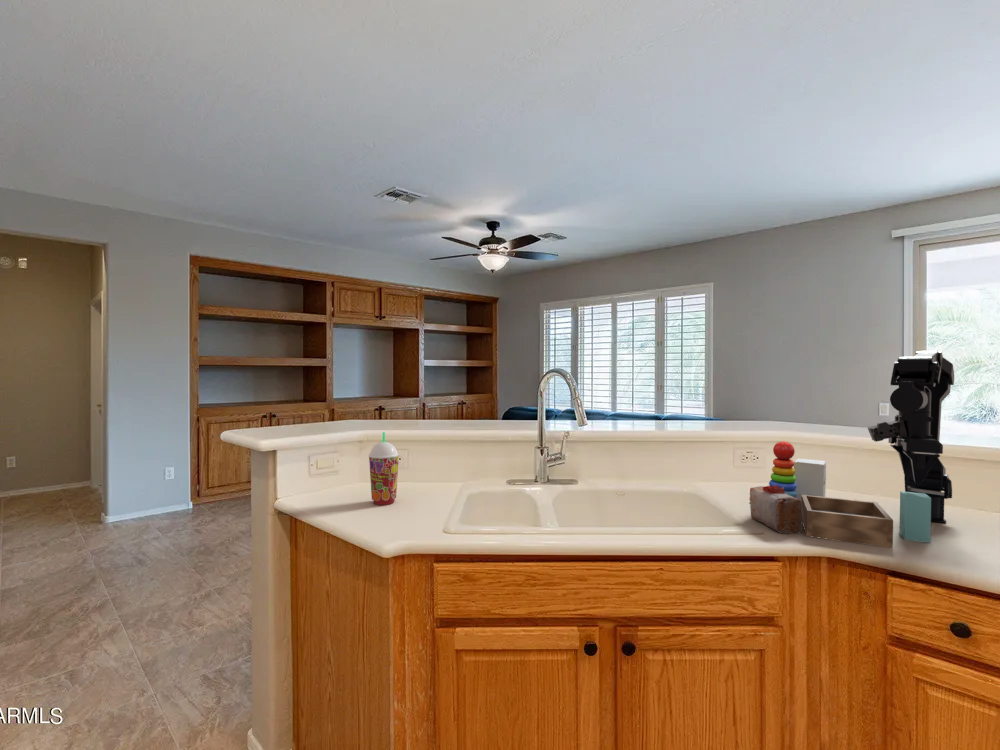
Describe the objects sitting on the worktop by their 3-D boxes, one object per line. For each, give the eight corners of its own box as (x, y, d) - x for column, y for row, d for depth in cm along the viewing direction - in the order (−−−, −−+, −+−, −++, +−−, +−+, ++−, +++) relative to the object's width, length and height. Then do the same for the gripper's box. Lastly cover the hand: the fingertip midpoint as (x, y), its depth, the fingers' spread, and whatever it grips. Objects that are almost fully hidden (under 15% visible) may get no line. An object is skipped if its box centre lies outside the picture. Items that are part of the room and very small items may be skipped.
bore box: (876, 526, 126) (877, 502, 125) (892, 547, 111) (893, 520, 111) (801, 517, 133) (801, 494, 133) (806, 536, 118) (807, 510, 118)
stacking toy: (759, 507, 142) (760, 440, 141) (779, 504, 145) (780, 438, 145) (785, 515, 135) (786, 444, 134) (805, 512, 138) (807, 442, 137)
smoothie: (362, 504, 143) (362, 433, 143) (380, 497, 151) (380, 429, 151) (387, 508, 140) (387, 435, 140) (404, 500, 148) (404, 431, 148)
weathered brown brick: (744, 517, 134) (744, 479, 133) (774, 516, 134) (774, 478, 134) (775, 534, 120) (776, 492, 120) (808, 534, 120) (809, 492, 120)
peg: (924, 536, 119) (925, 493, 118) (930, 542, 114) (931, 498, 114) (899, 533, 121) (900, 491, 120) (904, 539, 117) (905, 495, 116)
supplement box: (823, 511, 139) (824, 464, 138) (792, 506, 143) (792, 461, 143) (826, 505, 145) (826, 460, 144) (795, 500, 149) (796, 457, 149)
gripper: (864, 407, 130) (862, 469, 130) (879, 411, 113) (877, 482, 113) (920, 410, 124) (918, 474, 125) (944, 414, 108) (942, 489, 108)
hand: (912, 479), depth 118 cm, fingers open, 9 cm apart
